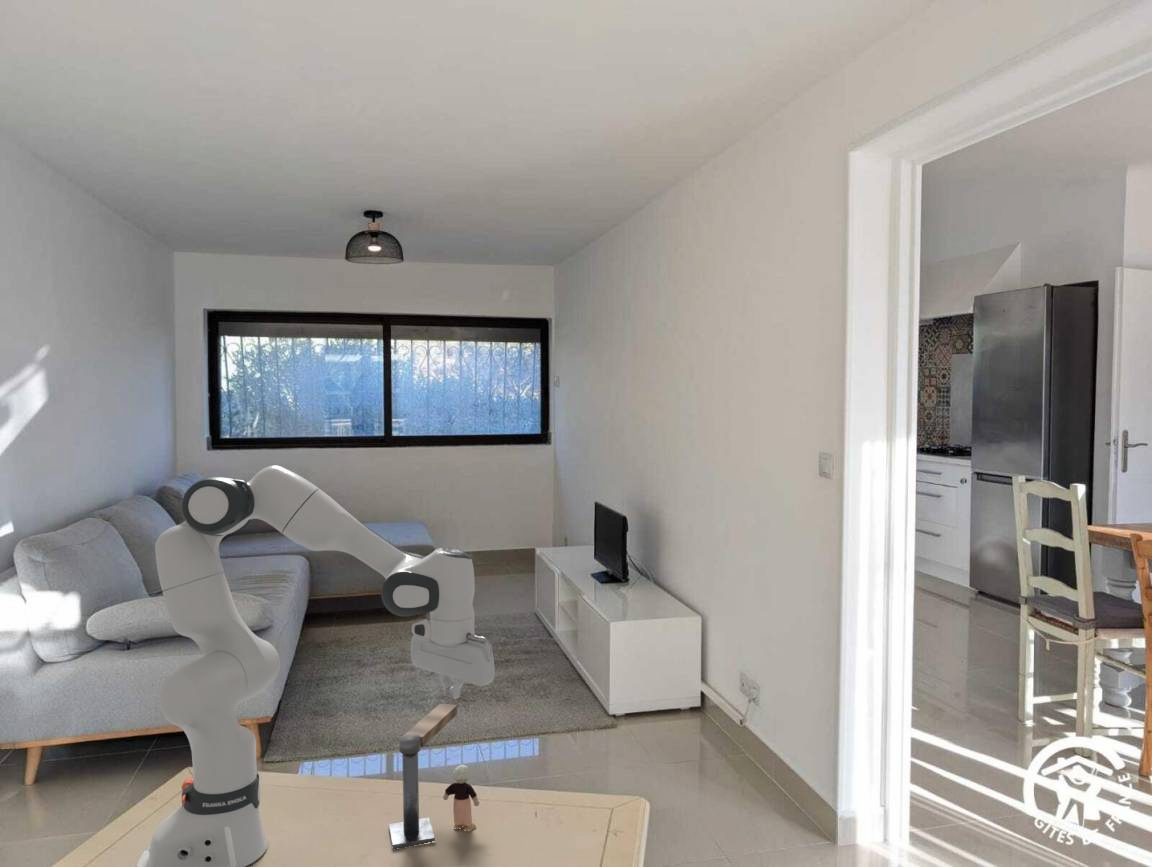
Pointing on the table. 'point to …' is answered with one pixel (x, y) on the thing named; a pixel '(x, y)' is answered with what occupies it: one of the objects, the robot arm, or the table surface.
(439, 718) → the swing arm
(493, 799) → the table surface
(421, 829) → the arm post
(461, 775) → the grandmother figurine
